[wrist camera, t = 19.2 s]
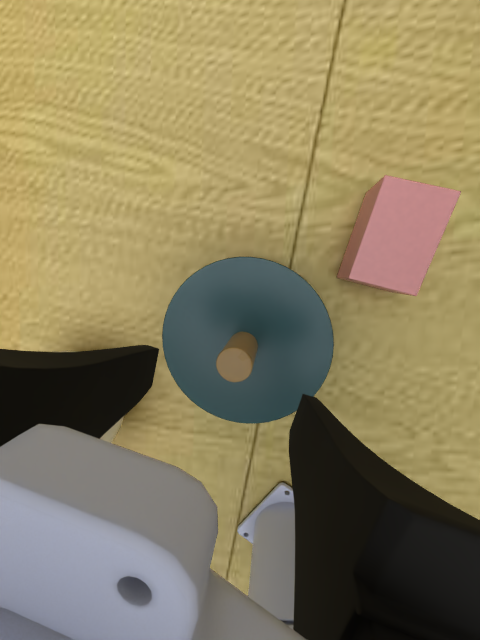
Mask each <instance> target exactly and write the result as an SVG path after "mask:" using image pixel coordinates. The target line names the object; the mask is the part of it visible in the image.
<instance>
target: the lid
mask: <svg viewBox="0 0 480 640" xmlns="http://www.w3.org/2000/svg"><path fill="white" fill-rule="evenodd" d="M162 339H163V350H164V355H165V359H166V362H167V365H168V368H169V370H170V372H171V375H172V376H173V378H174V380H175V382H176V383H177V385H178V386H179V387H180V389H181V390H182V391H183V392H184V394H185V395H186V396H187V397H188V398H189V399H190V400H191V401H193V402H194V403H195V404H196V405H198V406H199V407H200V408H202V409H204V410H205V411H207V412H209V413H211V414H213V415H215V416H217V417H220V418H222V419H225V420H229V421H233V422H239V423H264V422H270V421H273V420H277V419H280V418H283V417H285V416H288V415H290V414H291V413H293V412H295V411H297V409H298V406H299V403H300V400H301V397H302V395H303V394H305V395H309V396H312V397H313V396H314V395H315V394H316V392H317V391H318V390H319V389H320V387H321V385H322V384H323V382H324V380H325V378H326V376H327V374H328V371H329V369H330V365H331V361H332V357H333V347H334V342H333V330H332V325H331V321H330V318H329V315H328V312H327V310H326V308H325V306H324V304H323V302H322V300H321V299H320V297H319V296H318V294H317V293H316V292H315V290H314V289H313V288H312V287H311V286H310V285H309V284H308V283H307V281H305V280H304V279H303V278H302V277H300V276H299V275H298V274H297V273H295V272H294V271H292V270H290V269H289V268H287V267H285V266H283V265H281V264H278V263H276V262H273V261H270V260H266V259H262V258H255V257H234V258H227V259H224V260H220V261H216V262H214V263H212V264H209V265H207V266H205V267H203V268H202V269H200V270H198V271H197V272H195V273H194V274H193V275H192V276H190V277H189V278H188V279H187V280H186V281H185V282H184V283H183V284H182V285H181V286H180V288H179V289H178V290H177V292H176V293H175V295H174V296H173V298H172V300H171V302H170V304H169V306H168V309H167V312H166V315H165V319H164V324H163V334H162Z"/></svg>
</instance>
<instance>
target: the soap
mask: <svg viewBox="0 0 480 640" xmlns="http://www.w3.org/2000/svg"><path fill="white" fill-rule="evenodd" d="M460 193H461V191H457V190H452V189H448V188H443V187H438V186H434V185H429V184H424V183H420V182H415V181H410V180H406V179H401V178H396V177H392V176H387V175H385V176H384V177H383V178H382V179H381V180H380V181H378V182H377V183H376V184H375V185H374V186H373V187H372V188H371V189H370V190H369V191H368V192H366V194H365V197H364V199H363V202H362V205H361V208H360V211H359V214H358V217H357V220H356V223H355V225H354V228H353V231H352V234H351V237H350V240H349V243H348V246H347V249H346V252H345V254H344V257H343V260H342V263H341V266H340V269H339V272H338V275H337V278H339V279H343V280H347V281H351V282H355V283H359V284H362V285H366V286H370V287H374V288H378V289H382V290H386V291H389V292H394V293H400V294H406V295H413V296H417V294H418V291H419V289H420V287H421V284H422V282H423V280H424V277H425V275H426V273H427V270H428V268H429V266H430V263H431V261H432V259H433V256H434V254H435V252H436V249H437V247H438V245H439V242H440V240H441V238H442V235H443V233H444V231H445V228H446V226H447V224H448V221H449V219H450V217H451V214H452V212H453V209H454V207H455V205H456V202H457V200H458V198H459V195H460Z"/></svg>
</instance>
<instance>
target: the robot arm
mask: <svg viewBox="0 0 480 640" xmlns="http://www.w3.org/2000/svg"><path fill="white" fill-rule="evenodd" d="M158 352H159V349H158V348H155V347H151V346H148V345H138V346H129V347H121V348H113V349H103V350H93V351H80V352H36V351H18V350H6V349H0V640H480V520H478V519H476V518H475V517H473V516H471V515H469V514H467V513H465V512H463V511H462V510H460V509H458V508H456V507H454V506H452V505H451V504H449V503H447V502H445V501H444V500H442V499H440V498H439V497H437V496H436V495H434V494H432V493H431V492H429V491H427V490H426V489H424V488H422V487H421V486H419V485H418V484H416V483H415V482H413V481H412V480H410V479H409V478H407V477H406V476H404V475H403V474H402V473H400V472H399V471H397V470H396V469H394V468H393V467H392V466H390V465H389V464H387V463H386V462H385V461H383V460H382V459H381V458H380V457H378V456H377V455H376V454H375V453H373V452H372V451H371V450H370V449H369V448H367V447H366V446H365V445H364V444H363V443H361V442H360V441H359V440H358V439H357V438H356V437H355V436H354V435H353V434H352V433H351V432H350V431H349V430H348V429H347V428H346V427H344V426H343V425H342V423H341V422H340V421H339V420H338V419H337V418H336V417H335V416H334V415H333V414H332V413H331V412H330V411H329V410H328V409H327V408H326V407H325V406H324V405H323V404H322V403H321V402H320V401H319V400H318V399H317V398H315V397H312V396H309V395H305V394H303V395H302V397H301V400H300V403H299V406H298V409H297V412H296V414H295V417H294V420H293V423H292V426H291V429H290V435H289V457H290V468H291V477H292V487H293V488H291V487H290V486H288V485H287V484H285V483H279V484H278V485H277V486H276V487H275V488H274V489H273V490H272V491H271V492H270V494H269V495H268V496H267V497H266V498H265V499H264V500H263V501H262V502H261V503H260V504H259V505H258V506H257V507H256V508H255V509H254V510H253V511H252V512H251V513H250V514H249V515H248V517H247V518H246V519H245V520H244V521H243V522H242V523H241V524H240V525H239V526H238V533H239V534H240V535H241V536H243V537H244V538H245V539H247V540H248V541H249V542H251V543H252V544H253V548H252V559H251V570H250V581H249V592H248V596H247V595H245V594H244V593H243V592H241V591H240V590H239V589H237V588H236V587H235V586H233V585H232V584H231V583H229V582H228V581H227V580H225V579H224V578H223V577H221V576H220V575H218V574H217V573H216V572H214V571H213V570H212V569H210V564H211V560H212V555H213V551H214V547H215V542H216V538H217V534H218V514H217V506H216V504H215V503H214V501H213V500H212V498H211V496H210V495H209V493H208V492H207V490H206V489H205V487H204V485H203V484H202V483H201V482H200V481H199V480H197V479H196V478H194V477H193V476H191V475H189V474H188V473H186V472H185V471H183V470H181V469H180V468H178V467H176V466H173V465H170V464H168V463H165V462H162V461H159V460H157V459H154V458H151V457H148V456H146V455H143V454H140V453H137V452H134V451H132V450H129V449H126V448H123V447H121V446H118V445H115V444H112V443H109V442H107V441H104V440H101V439H100V438H101V437H102V436H103V435H104V434H105V433H106V432H107V431H108V430H109V429H110V428H111V427H113V426H114V425H115V424H116V423H117V422H118V421H119V420H120V419H121V418H122V417H123V416H124V415H126V414H127V413H128V412H129V411H130V410H131V409H132V408H133V407H134V406H135V405H136V404H137V403H138V402H139V401H140V400H141V399H142V398H143V397H144V395H145V394H146V393H147V392H148V390H149V389H150V388H151V386H152V383H153V378H154V373H155V368H156V362H157V357H158ZM286 491H289V492H286Z"/></svg>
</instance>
